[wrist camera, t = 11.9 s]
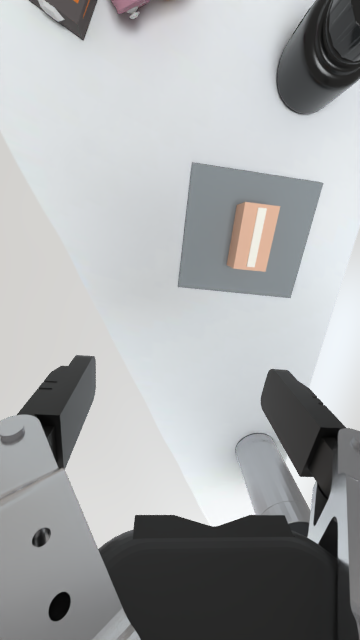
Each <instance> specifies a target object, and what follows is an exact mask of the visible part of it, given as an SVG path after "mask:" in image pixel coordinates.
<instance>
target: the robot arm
mask: <svg viewBox="0 0 360 640" xmlns="http://www.w3.org/2000/svg"><path fill="white" fill-rule="evenodd" d="M95 364H96V363H95V357H94V356H80V355H76V356H75V357H74V359H73V360H72V362H71V363H70V364H69V366H60V367H59V368H57V369H56V370H54V371H52V372H51V373H50V374H49V375H48V377H47V378H46V379H45V381H44V382H43V383H42V384H41V385H40V387H39V389H37V391H36V392H35V393H34V394H33V395H32V397H31V398H30V399H29V400H28V402H27V403H26V404H25V405H24V407H23V408H22V409H21V410H20V412H19V413H18V414H17V415H16V416H12V417H8V418H6V419H3V420H1V421H0V640H360V431H357V430H354V429H350V428H346V427H345V426H344V425H343V424H342V423H341V422H340V421H339V420H338V419H337V418H336V417H335V416H334V414H332V412H331V411H330V410H329V409H328V408H327V407H326V406H325V405H323V403H322V402H321V401H320V400H319V399H318V398H317V396H316V395H315V394H314V393H313V392H312V391H311V390H310V389H309V388H308V387H306V386H305V385H303V384H302V383H300V382H299V381H297V380H296V378H295V377H294V376H293V375H292V374H291V373H290V372H289V371H288V370H278V369H271V370H269V372H268V374H267V378H266V381H265V385H264V388H263V392H262V395H261V406H262V410H263V411H264V413H265V415H266V417H267V419H268V420H269V422H270V424H271V426H272V427H273V429H274V431H275V433H276V435H277V436H278V438H279V440H280V442H281V444H282V445H283V447H284V449H285V451H286V452H287V454H288V456H289V458H290V459H291V461H292V463H293V465H294V467H295V468H296V470H297V472H298V474H299V476H301V477H314V478H315V480H316V482H315V485H314V487H313V494H312V504H311V511H310V509H309V507H308V505H307V503H306V501H305V500H304V498H303V496H302V494H301V492H300V490H299V488H298V487H297V485H296V483H295V481H294V479H293V477H292V475H291V473H290V471H289V469H288V467H287V466H286V464H285V462H284V460H283V458H282V456H281V454H280V452H279V450H278V449H277V447H276V445H275V443H274V441H273V439H272V438H271V437H269V436H268V435H265V434H252V435H249V436H247V437H245V438H243V439H242V440H241V441H240V442H239V443H238V445H237V447H236V456H237V459H238V463H239V466H240V469H241V472H242V475H243V478H244V481H245V484H246V487H247V490H248V493H249V496H250V499H251V502H252V505H253V508H254V511H255V514H256V515H249V516H246V517H243V518H240V519H237V520H235V521H232V522H229V523H226V524H223V525H220V526H217V527H212V526H208V525H205V524H201V523H198V522H195V521H191V520H188V519H185V518H181V517H178V516H175V515H136V516H135V522H134V530H131V531H128V532H125V533H123V534H121V535H119V536H117V537H115V538H113V539H112V540H110V541H109V542H107V543H105V544H104V545H103V546H102V547H101V548H99V549H98V548H97V545H96V543H95V541H94V538H93V536H92V533H91V531H90V529H89V526H88V524H87V522H86V519H85V517H84V514H83V512H82V509H81V507H80V505H79V502H78V500H77V498H76V495H75V493H74V490H73V488H72V486H71V483H70V481H69V478H68V476H67V474H66V472H65V467H66V465H67V463H68V460H69V458H70V455H71V453H72V451H73V448H74V446H75V443H76V441H77V438H78V436H79V434H80V431H81V429H82V426H83V424H84V421H85V419H86V417H87V414H88V412H89V409H90V407H91V405H92V402H93V399H94V395H95V388H96V379H95V378H96V375H95V374H96V366H95Z"/></svg>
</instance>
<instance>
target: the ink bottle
mask: <svg viewBox="0 0 360 640" xmlns="http://www.w3.org/2000/svg"><path fill="white" fill-rule="evenodd" d="M359 79H360V0H316V1H315V2H314V4H313V5H312V7H311V8H310V9H309V10H308V12H307V13H306V15H305V16H304V18H303V19H302V21H301V22H300V24H299V25H298V27H297V28H296V30H295V32H294V33H293V36H292V37H291V39H290V40H289V42H288V43H287V45H286V47H285V49H284V51H283V53H282V56H281V59H280V63H279V67H278V76H277V82H278V89H279V93H280V96H281V98H282V100H283V101H284V103H285V104H286V105H287V106H288V107H289V108H290V109H292V110H293V111H295V112H298V113H302V114H310V113H314V112H317V111H319V110H320V109H322V108H323V107H325V106H326V105H327V104H329V103H330V102H331V101H333V100H334V99H335V98H336V97H338V96H339V95H340V94H342V93H343V92H344V91H346V90H347V89H348V88H349V87H351V86H352V85H353V84H354V83H356V82H357V81H358V80H359Z"/></svg>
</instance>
